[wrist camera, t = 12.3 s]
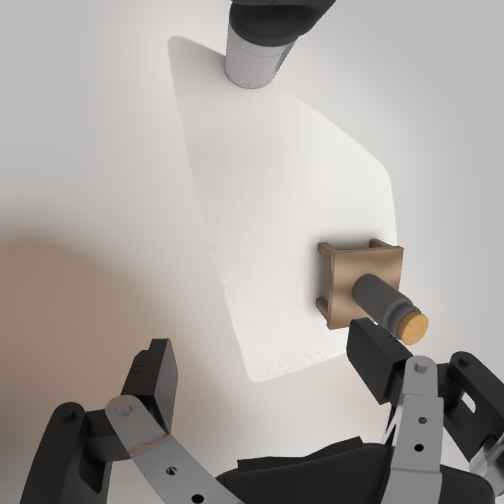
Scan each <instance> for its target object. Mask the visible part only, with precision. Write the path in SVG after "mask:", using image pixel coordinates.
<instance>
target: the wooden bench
mask: <svg viewBox="0 0 504 504" xmlns="http://www.w3.org/2000/svg"><path fill="white" fill-rule="evenodd" d="M370 247H371V248H366V249H353V250H340V251H339V250H337V249H336V248H334V247H332V246H331V245H329V244H328V243H318V251H319V252H320V253H321V254H322V255H324V256H325V257H326V258H328V259H329V260H330V261H331V272H330V289H329V303H327V302H326V300H325V299H324V298H321V299H316V307H317V308H318V310H319V311H320V312H321V314H322V315H323V316H324V318H325V319H326V320H327V327H328V328H329V330H334V329H339V328H345V327H350V322H351V320H352V319H358V318H363V317H368V318H369V319H370V320H371V321H372V322H375V321H374V320H373V319H372V318H371V317H370V316H369V315H368V314H367V313H366V312H365V311H364V310H363V309H362V308H361V307H360V306H359V305H358V304H357V303H356V302H355V301H354V299H353V296H352V290H353V286H354V284H355V283H356V281H357V280H358V279H359V278H360V277H362V276H363V275H366V274H373V275H375V276H377V277H378V278H380V279H381V280H383V281H384V282H386V283H387V284H389V285H390V286H392V287H393V288H395V289H396V290H397V291H398V290H399V283H400V276H401V268H402V259H403V250H404V248H402V247H400V246H391V245H389V244H387V243H384V242H382V241H380V240H378V239H371V240H370Z"/></svg>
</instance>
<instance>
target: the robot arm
mask: <svg viewBox="0 0 504 504" xmlns="http://www.w3.org/2000/svg"><path fill="white" fill-rule="evenodd" d="M231 1H233V3H232V5H231V8H230V14H229V26H228V38H227V49H226V59H225V71H226V74H227V76H228V77H229V79H230V80H231V81H232V82H233V83H235V84H236V85H238V86H240V87H244V88H250V89H254V88H260V87H263V86H265V85H267V84H268V83H269V82H271V80H272V79H273V78H274V76H275V75H276V73H277V71H278V69H279V68H280V66H281V65H282V63H283V61H284V60H285V58H286V56H287V55H288V53H289V51H290V50H291V48H292V47H293V45H294V43H295V42H296V40H297V38H298V37H299V36H301V35H303V34H305V33H307V32H308V31H309V30H310V29H311V28H312V27H313V26H314V25H315V24H316V22H317V21H318V20H319V19H320V18H321V17H322V16H323V15H324V14H325V13H326V11H327V10H328V9H329V8H330V7H331V6H332V5H333V4H334V2H335V1H336V0H231ZM346 351H347V356H348V359H349V361H350V362H351V364H352V365H353V366H354V368H355V369H356V371H357V372H358V374H359V375H360V377H361V378H362V380H363V381H364V382H365V384H366V385H367V387H368V388H369V390H370V391H371V393H372V394H373V396H374V397H375V399H376V400H377V402H378V403H379V405H382V404H384V403H387V402H390V403H391V407H390V409H389V413H388V417H387V422H386V426H385V430H384V434H383V437H382V441H381V444H379V443H363V442H362V440H361V438H360V437H359V436H358V437H355V438H351V439H348V440H344V441H341V442H337V443H334V444H331V445H329V446H327V447H325V448H323V449H321V450H319V451H317V452H314V453H312V454H310V455H308V456H305V457H263V458H262V457H261V458H253V459H243V460H237V463H238V468H236V469H233V470H230V471H227V472H225V473H223V474H221V475H219V476H217V477H215V478H214V477H212V475H211V474H209V473H208V472H207V471H206V470H205V469H204V468H203V467H202V466H201V465H200V464H199V463H198V462H197V461H196V460H195V459H194V458H193V457H192V456H191V455H190V454H189V453H188V452H187V451H186V450H185V449H184V447H183V446H182V445H181V444H180V443H179V442H178V441H177V440H176V439H175V438H174V437H173V436H172V435H171V434H170V433H171V425H172V417H173V409H174V401H175V395H176V388H177V381H178V371H177V365H176V361H175V357H174V353H173V348H172V344H171V341H170V339H169V338H167V339H152V341H151V344H150V347H149V349H148V350H142V351H141V352H139V353H138V355H136V356H135V358H134V360H133V363H132V367H131V368H130V370H129V373H128V376H127V378H126V381H125V384H124V386H123V389H122V392H121V395H120V396H117V397H115V398H113V399H111V400H110V401H109V402H108V403H107V405H106V407H105V409H102V410H95V411H88V412H85V410H84V409H83V407H82V406H81V405H80V404H78V403H75V402H67V403H64V404H61V405H59V406H58V407H57V408H56V409H55V410H54V412H53V414H52V416H51V418H50V421H49V423H48V425H47V427H46V430H45V432H44V435H43V437H42V439H41V442H40V445H39V447H38V450H37V452H36V455H35V457H34V460H33V463H32V466H31V469H30V472H29V474H28V477H27V480H26V484H25V487H24V490H23V494H22V497H21V501H20V504H106V502H107V495H108V487H109V481H110V474H111V468H112V462H113V461H120V460H127V459H132V460H133V461H134V463H135V464H136V466H137V467H138V468H139V470H140V471H141V473H142V474H143V476H144V477H145V478H146V480H147V481H148V482H149V484H150V485H151V486H152V488H153V489H154V490H155V491H156V493H157V494H158V495H159V497H160V498H161V499H162V500H163V501H164V502H165V504H495V498H496V497H497V496H500V495H502V494H504V384H503V383H502V382H501V381H500V380H499V379H498V378H497V377H496V376H495V375H494V374H493V373H492V372H491V371H490V370H489V369H488V368H487V367H486V366H484V365H483V364H482V363H481V362H480V361H479V360H478V359H477V358H476V357H475V356H474V355H472V354H470V353H468V352H463V351H460V352H456V353H454V354H453V355H452V356H451V359H450V362H449V363H444V364H436V363H435V362H434V361H433V360H432V359H430V358H428V357H425V356H413V355H412V353H411V352H409V351H408V350H407V348H406V347H405V346H403V345H402V344H401V343H400V342H399V341H398V340H397V339H396V338H395V337H393V335H392V334H391V333H390V332H389V331H388V330H387V329H385V328H383V327H381V326H379V325H375V324H374V323H373V322H372V321H371V320H370V319H369V318H368V317H363V318H358V319H352V320H351V322H350V327H349V334H348V341H347V347H346ZM465 392H466V393H467V394H468V395H469V396H470V397H471V398H472V400H473V401H474V402H475V405H476V409H475V413H473V412H472V411H471V410H470V409H469V407H468V406H467V405H466V404H465V403H464V401H463V400H462V397H463V395H464V393H465ZM443 426H444V427H445V429H446V430H447V431H448V433H449V434H450V436H451V437H452V439H453V440H454V442H455V443H456V444H457V446H458V447H459V449H460V450H461V452H462V453H463V455H464V456H465V458H466V459H467V461H468V462H469V470H470V472H466V471H462V470H459V469H455V468H451V467H448V466H445V465H441V464H440V459H441V450H442V435H443Z"/></svg>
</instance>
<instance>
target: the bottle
mask: <svg viewBox="0 0 504 504" xmlns="http://www.w3.org/2000/svg"><path fill="white" fill-rule="evenodd" d="M352 296H353V299H354V301H355V302H356V303H357V304H358V305H359V306H360V307H361V308H362V309H363V310H364V311H365V312H366V313H367V314H368V315H369V316H370V317H371V318H372V319H373V320H374V321H375V322H376V323H377V324H378V325H379V326H381V327H383V328H385V329H387V330H388V331H389V332H390V333H392V334H393V335H394V337H395V338H397V339H398V340H402V342H403V343H404V344H405V345H413V344H415V343H417V342H418V341H419V340H420V339H421V338H422V337H423V336H424V334H425V333H426V330H427V328H428V318H427V317H426V316H425V315H423V314H422V313H421V311H420V310H419V309H418V308H417V307H415V306H413V303H412V301H411V300H409V298H407V297H406V296H405V295H403V294H402V293H400V292H399V291H397V290H396V289H395V288H393V287H392V286H390V285H389V284H387V283H386V282H384V281H383V280H381V279H380V278H378V277H377V276H375V275H373V274H366V275H363V276H362V277H360V278H359V279H358V280H357V281H356V283H355V284H354V286H353V290H352Z"/></svg>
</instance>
